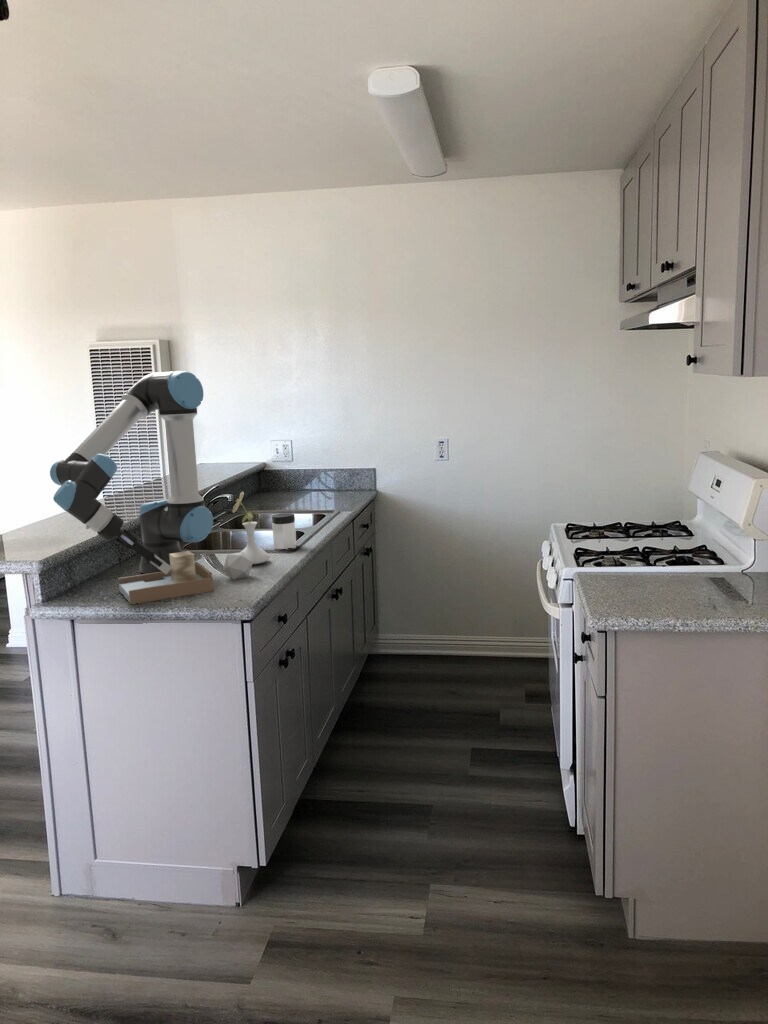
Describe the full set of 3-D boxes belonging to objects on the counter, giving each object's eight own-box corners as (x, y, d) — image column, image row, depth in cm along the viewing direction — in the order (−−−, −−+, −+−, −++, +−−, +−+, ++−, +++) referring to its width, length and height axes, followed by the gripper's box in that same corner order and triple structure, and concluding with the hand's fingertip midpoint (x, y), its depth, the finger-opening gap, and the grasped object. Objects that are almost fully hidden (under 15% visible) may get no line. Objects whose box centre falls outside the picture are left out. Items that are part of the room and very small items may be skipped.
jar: (296, 549, 295) (293, 516, 293) (273, 550, 295) (270, 517, 293) (297, 544, 304) (295, 512, 302) (275, 545, 304) (272, 513, 302)
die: (247, 574, 264) (227, 552, 262) (262, 564, 258) (242, 541, 257) (233, 589, 257) (213, 567, 256) (248, 579, 252) (227, 556, 250)
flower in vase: (247, 558, 284) (241, 487, 280) (276, 560, 279) (270, 487, 275) (226, 567, 272) (220, 493, 268) (256, 569, 268) (250, 493, 263)
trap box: (130, 604, 233) (128, 585, 232) (119, 591, 248) (117, 573, 247) (213, 590, 243) (212, 572, 242) (197, 578, 259) (196, 561, 258)
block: (176, 583, 244) (173, 557, 242) (171, 579, 249) (169, 553, 248) (196, 580, 246) (193, 554, 245) (191, 576, 252) (188, 550, 250)
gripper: (92, 529, 240) (156, 576, 250) (99, 536, 229) (165, 585, 239) (109, 509, 241) (171, 556, 252) (117, 515, 230) (182, 564, 240)
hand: (168, 570), depth 245 cm, fingers closed
